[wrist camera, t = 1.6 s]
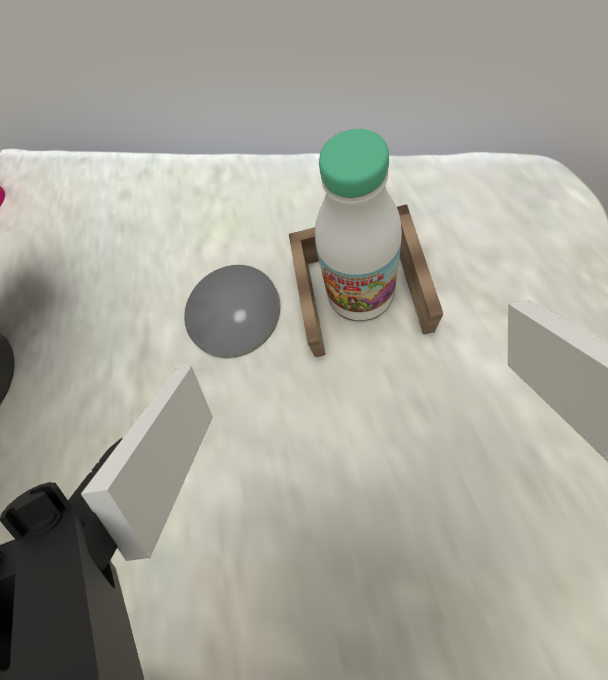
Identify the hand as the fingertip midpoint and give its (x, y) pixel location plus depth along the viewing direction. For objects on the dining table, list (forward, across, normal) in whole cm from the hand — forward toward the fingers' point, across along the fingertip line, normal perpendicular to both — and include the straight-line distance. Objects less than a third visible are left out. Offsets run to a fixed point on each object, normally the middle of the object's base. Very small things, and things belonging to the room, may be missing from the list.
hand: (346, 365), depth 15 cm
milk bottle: (+27, +3, -6) cm, 28 cm away
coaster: (+28, -13, -5) cm, 31 cm away
